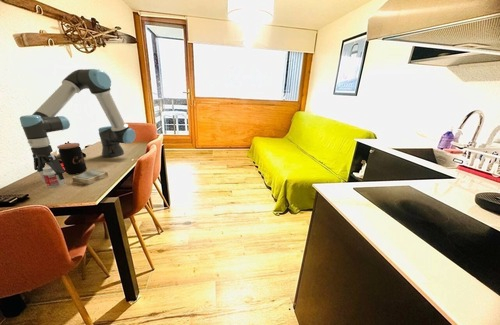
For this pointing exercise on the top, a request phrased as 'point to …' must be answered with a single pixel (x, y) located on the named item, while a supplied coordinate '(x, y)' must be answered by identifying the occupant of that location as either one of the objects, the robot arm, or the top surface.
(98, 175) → the banknote stack
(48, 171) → the pill bottle
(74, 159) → the coffee jar
